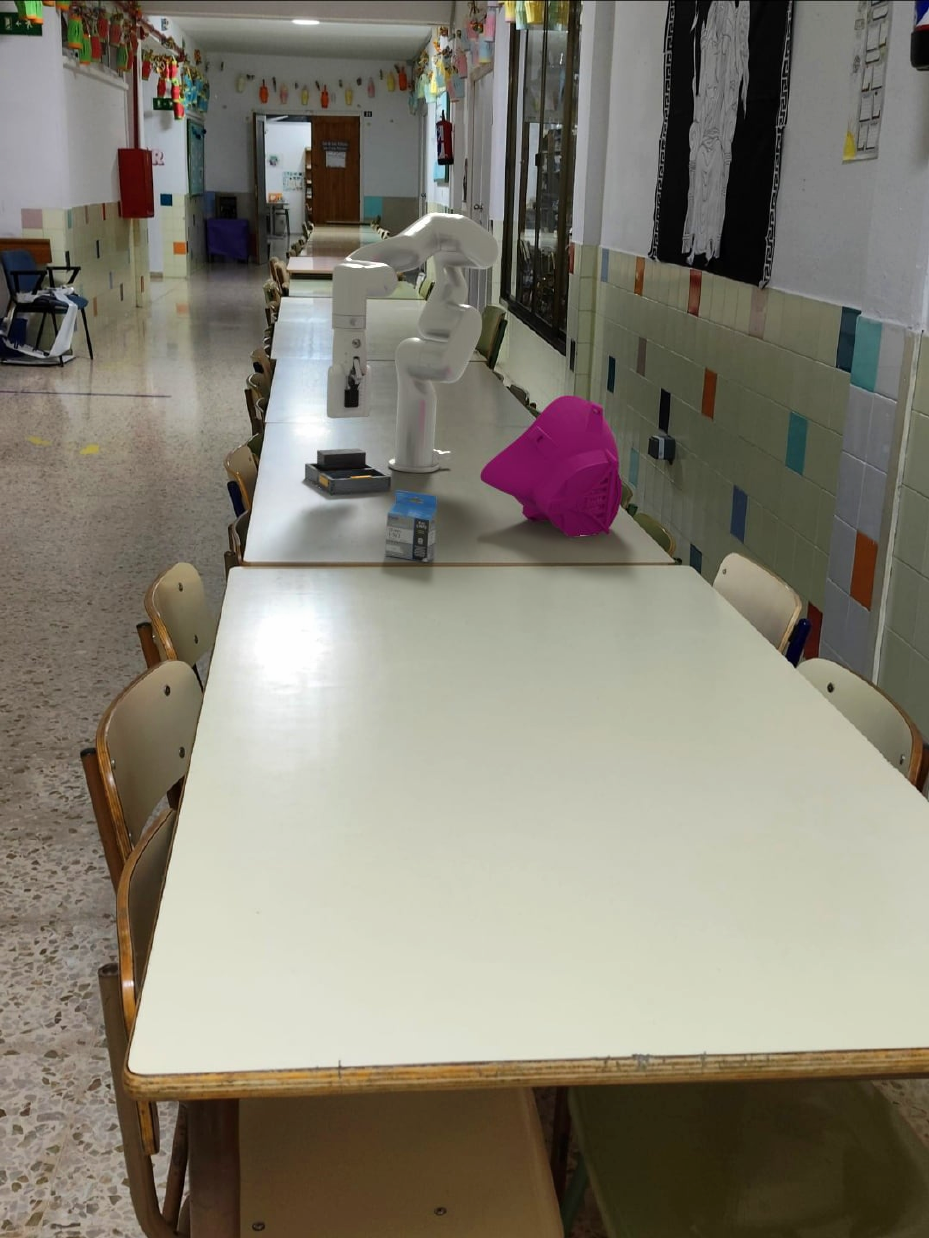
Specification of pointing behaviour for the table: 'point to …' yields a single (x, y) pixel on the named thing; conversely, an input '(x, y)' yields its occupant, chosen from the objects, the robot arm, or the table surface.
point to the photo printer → (337, 394)
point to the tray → (346, 473)
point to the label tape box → (411, 527)
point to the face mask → (563, 468)
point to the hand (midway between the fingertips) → (347, 404)
